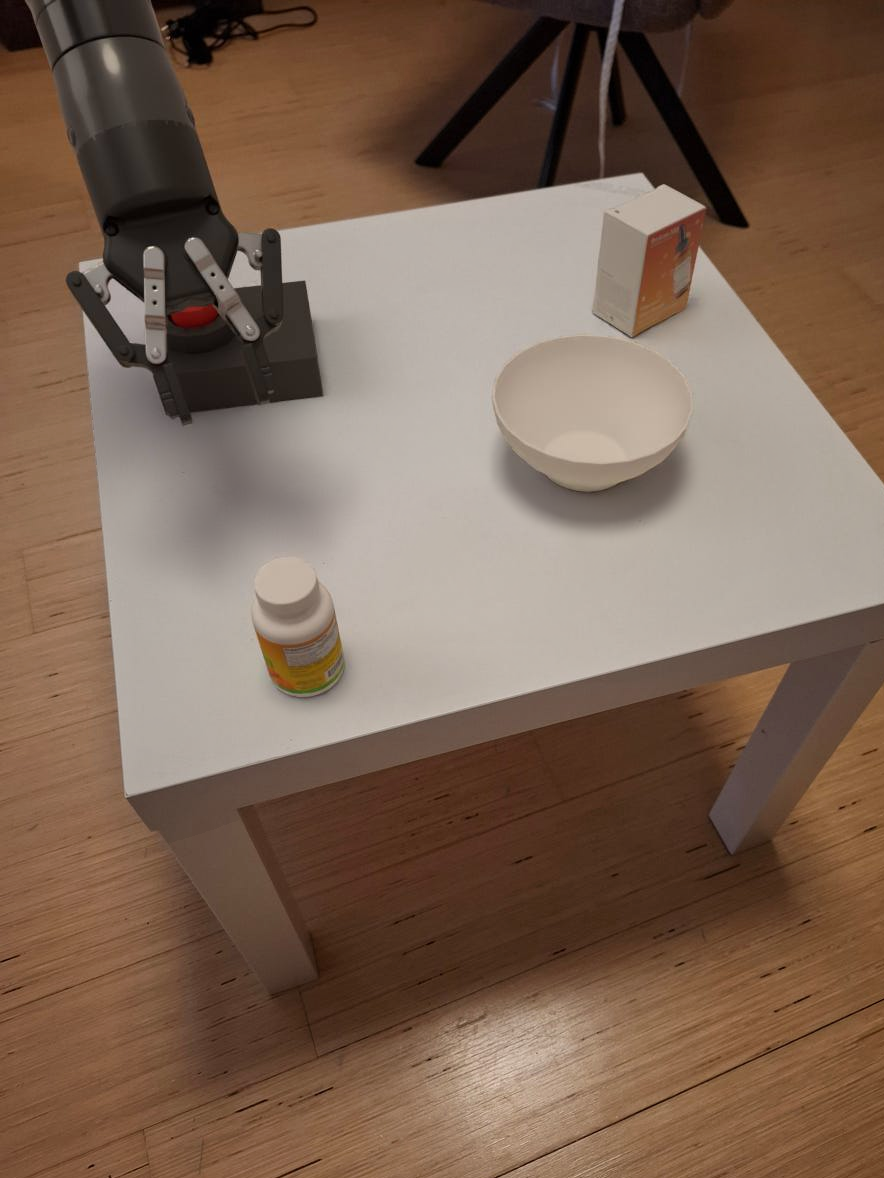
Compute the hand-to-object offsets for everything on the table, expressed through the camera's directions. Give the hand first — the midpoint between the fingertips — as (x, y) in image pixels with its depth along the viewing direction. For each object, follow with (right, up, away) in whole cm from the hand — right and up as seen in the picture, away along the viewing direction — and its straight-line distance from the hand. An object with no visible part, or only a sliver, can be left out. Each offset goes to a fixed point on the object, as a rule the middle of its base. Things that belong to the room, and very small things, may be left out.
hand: (225, 412), depth 62 cm
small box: (+32, +18, +32) cm, 49 cm away
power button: (-8, +14, +22) cm, 27 cm away
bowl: (+26, 0, +19) cm, 32 cm away
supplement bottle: (+4, -17, +6) cm, 18 cm away
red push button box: (-6, +11, +26) cm, 29 cm away
